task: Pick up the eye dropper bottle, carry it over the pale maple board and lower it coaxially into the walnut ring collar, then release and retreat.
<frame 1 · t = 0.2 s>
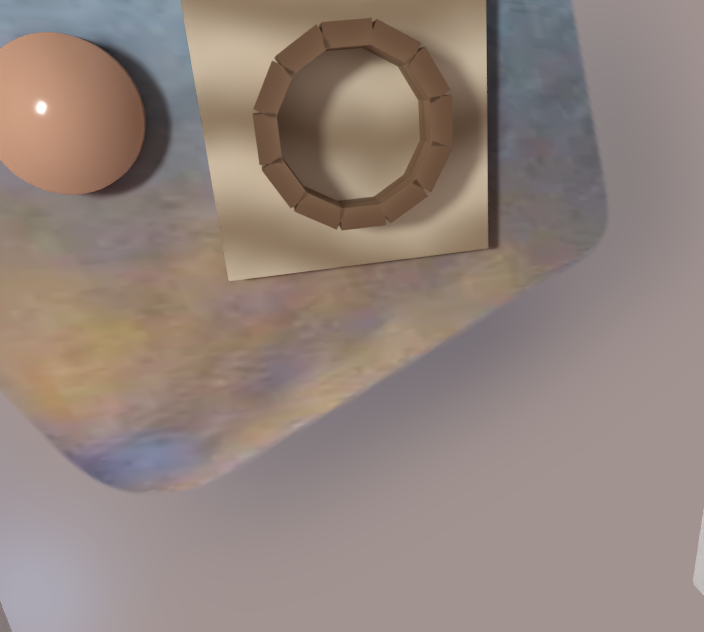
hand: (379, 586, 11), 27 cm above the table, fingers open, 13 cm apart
ring collar: (347, 126, 35), on the table
peach domed part: (70, 115, 33), on the table
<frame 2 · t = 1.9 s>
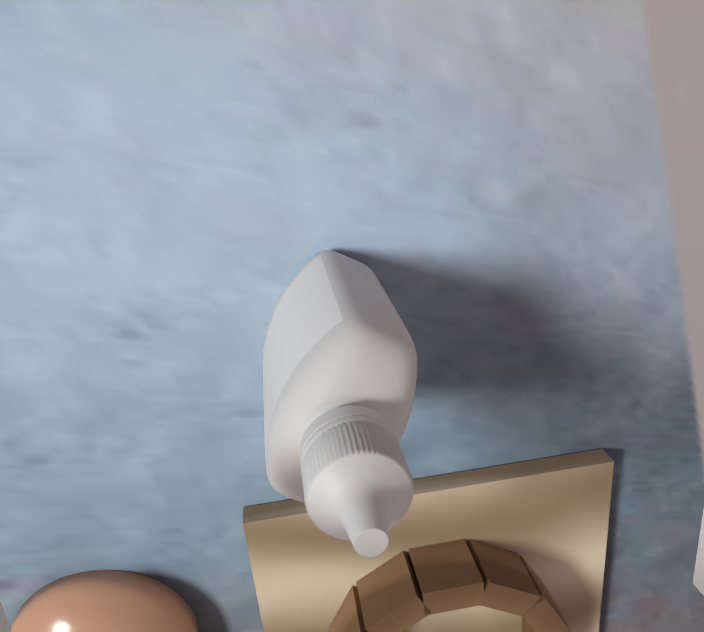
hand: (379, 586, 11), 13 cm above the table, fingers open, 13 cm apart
ring collar: (434, 613, 29), on the table
eye dropper bottle: (316, 317, 23), on the table
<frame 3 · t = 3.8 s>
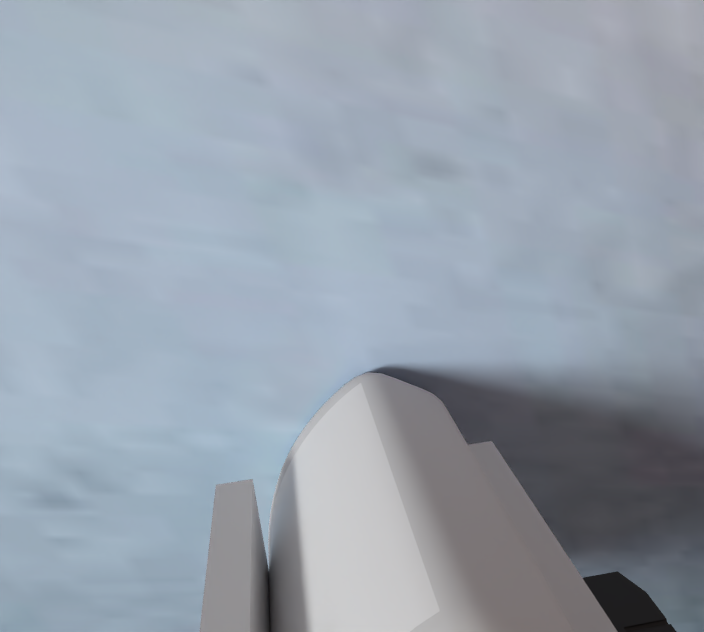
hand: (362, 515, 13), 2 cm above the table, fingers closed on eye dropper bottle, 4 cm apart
eye dropper bottle: (350, 465, 15), on the table, touching gripper
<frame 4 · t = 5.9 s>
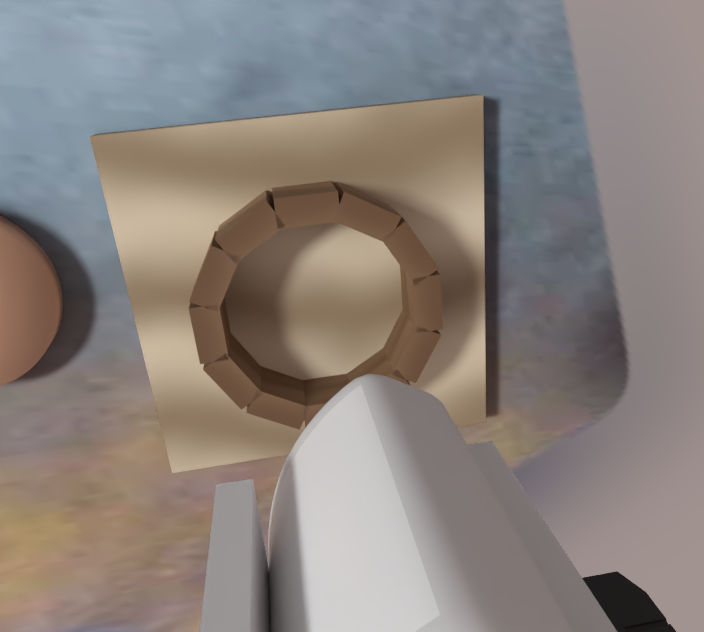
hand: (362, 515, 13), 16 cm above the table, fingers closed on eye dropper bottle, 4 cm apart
ring collar: (313, 292, 28), on the table
eye dropper bottle: (350, 467, 15), point 14 cm above the table, touching gripper
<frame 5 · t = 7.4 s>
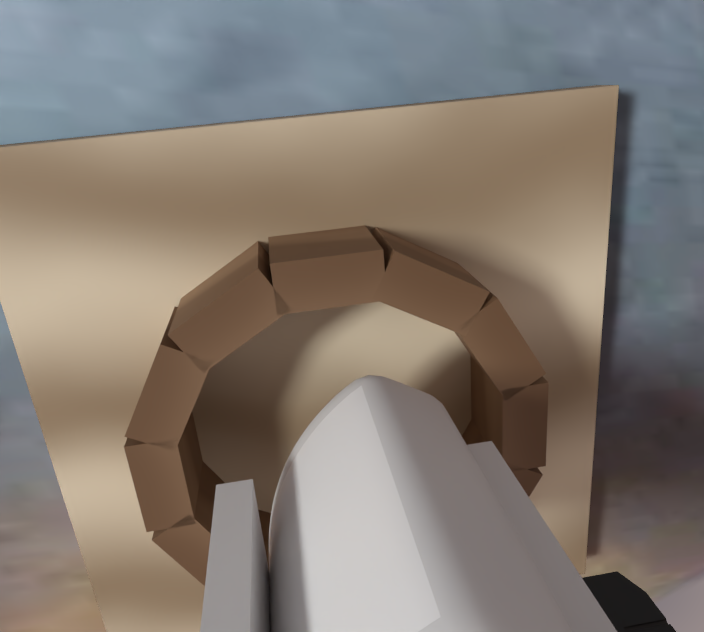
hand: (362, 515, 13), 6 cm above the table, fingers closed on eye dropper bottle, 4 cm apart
ring collar: (332, 391, 18), on the table
eye dropper bottle: (351, 468, 15), point 4 cm above the table, touching gripper
when the fingers open (4 cm above the table, at t = 8.2 s): eye dropper bottle drops 1 cm, resting on ring collar.
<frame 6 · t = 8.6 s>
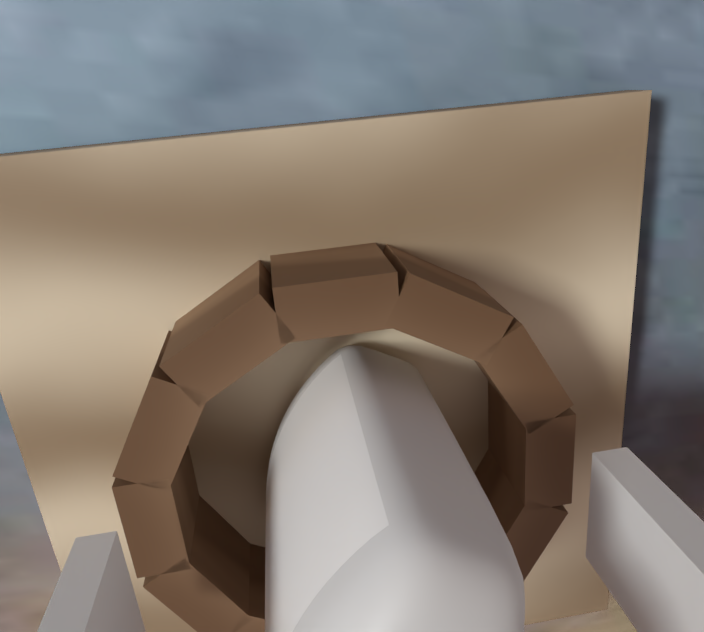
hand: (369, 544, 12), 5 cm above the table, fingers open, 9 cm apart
ring collar: (339, 418, 17), on the table
eye dropper bottle: (339, 433, 16), point 1 cm above the table, touching ring collar
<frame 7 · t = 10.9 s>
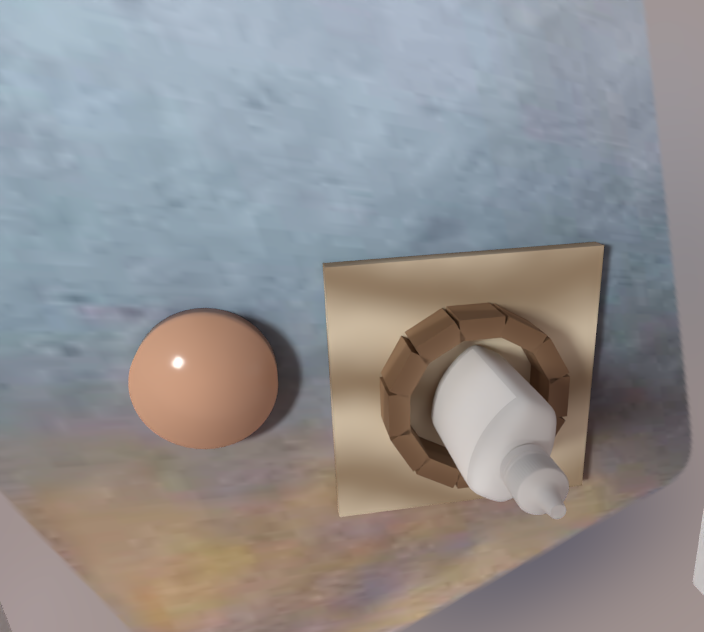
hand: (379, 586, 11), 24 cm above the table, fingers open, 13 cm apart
ring collar: (460, 380, 37), on the table
peach domed part: (207, 373, 35), on the table
eye dropper bottle: (463, 385, 36), point 1 cm above the table, touching ring collar
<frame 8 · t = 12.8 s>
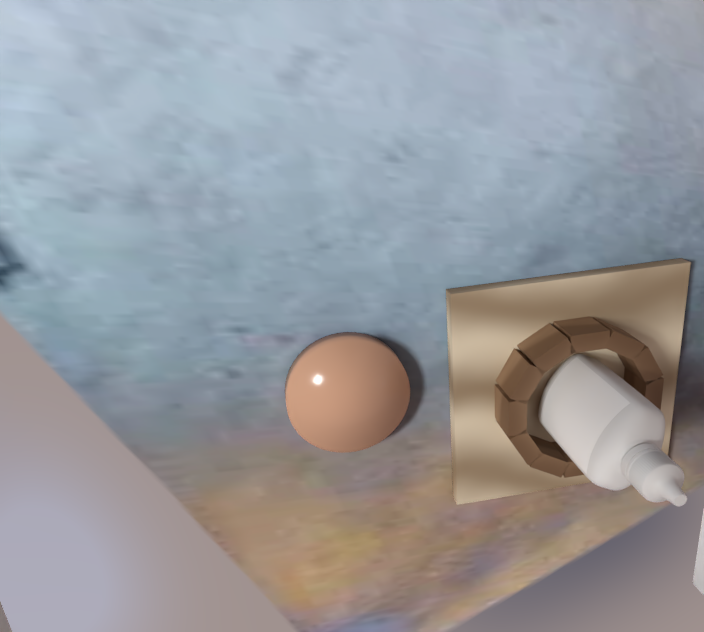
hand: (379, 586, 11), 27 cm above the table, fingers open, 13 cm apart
ring collar: (561, 383, 42), on the table
peach domed part: (345, 387, 40), on the table
eye dropper bottle: (565, 388, 41), point 1 cm above the table, touching ring collar
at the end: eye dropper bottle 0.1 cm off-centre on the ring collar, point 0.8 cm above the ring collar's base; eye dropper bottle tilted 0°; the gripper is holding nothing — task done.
